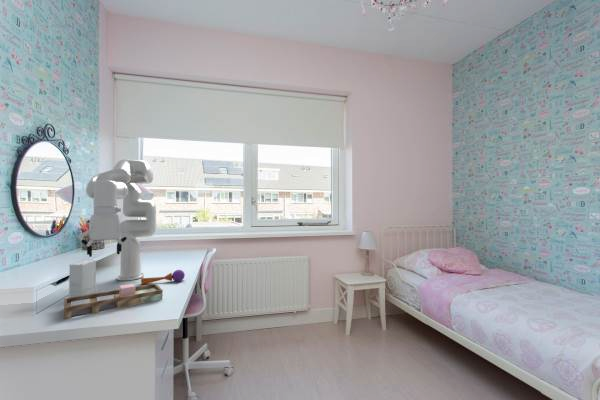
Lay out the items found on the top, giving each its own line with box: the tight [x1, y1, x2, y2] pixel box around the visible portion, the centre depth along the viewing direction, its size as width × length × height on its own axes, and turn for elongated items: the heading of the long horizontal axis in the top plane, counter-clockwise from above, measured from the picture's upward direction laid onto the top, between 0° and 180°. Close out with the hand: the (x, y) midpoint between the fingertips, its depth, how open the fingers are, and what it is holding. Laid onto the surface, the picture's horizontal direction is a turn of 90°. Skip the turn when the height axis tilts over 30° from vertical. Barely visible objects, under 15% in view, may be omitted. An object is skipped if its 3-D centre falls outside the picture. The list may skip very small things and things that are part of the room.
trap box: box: [63, 282, 163, 320], centre depth 112 cm, size 32×12×4 cm, turn 130°
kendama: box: [140, 269, 185, 286], centre depth 142 cm, size 6×6×20 cm
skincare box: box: [68, 259, 97, 298], centre depth 121 cm, size 8×6×15 cm
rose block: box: [119, 283, 137, 297], centre depth 114 cm, size 5×5×4 cm
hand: (104, 254), depth 109 cm, fingers open, 8 cm apart
